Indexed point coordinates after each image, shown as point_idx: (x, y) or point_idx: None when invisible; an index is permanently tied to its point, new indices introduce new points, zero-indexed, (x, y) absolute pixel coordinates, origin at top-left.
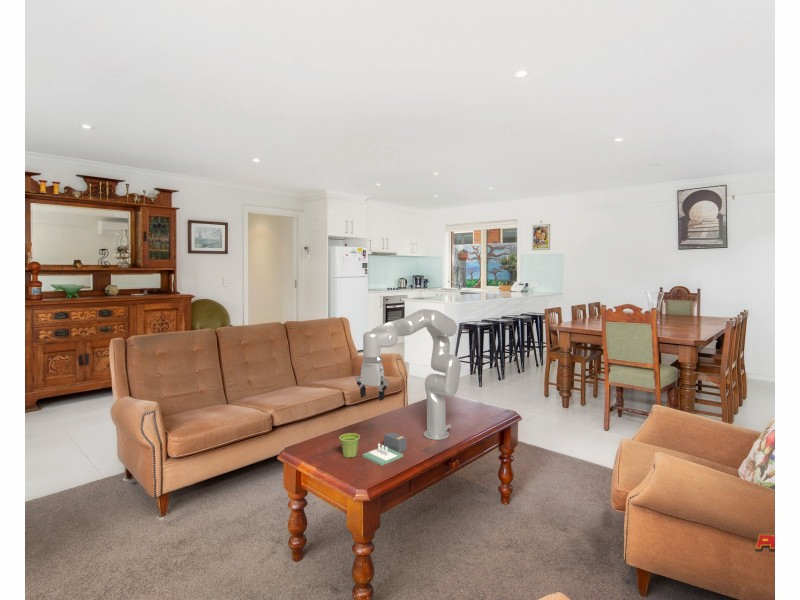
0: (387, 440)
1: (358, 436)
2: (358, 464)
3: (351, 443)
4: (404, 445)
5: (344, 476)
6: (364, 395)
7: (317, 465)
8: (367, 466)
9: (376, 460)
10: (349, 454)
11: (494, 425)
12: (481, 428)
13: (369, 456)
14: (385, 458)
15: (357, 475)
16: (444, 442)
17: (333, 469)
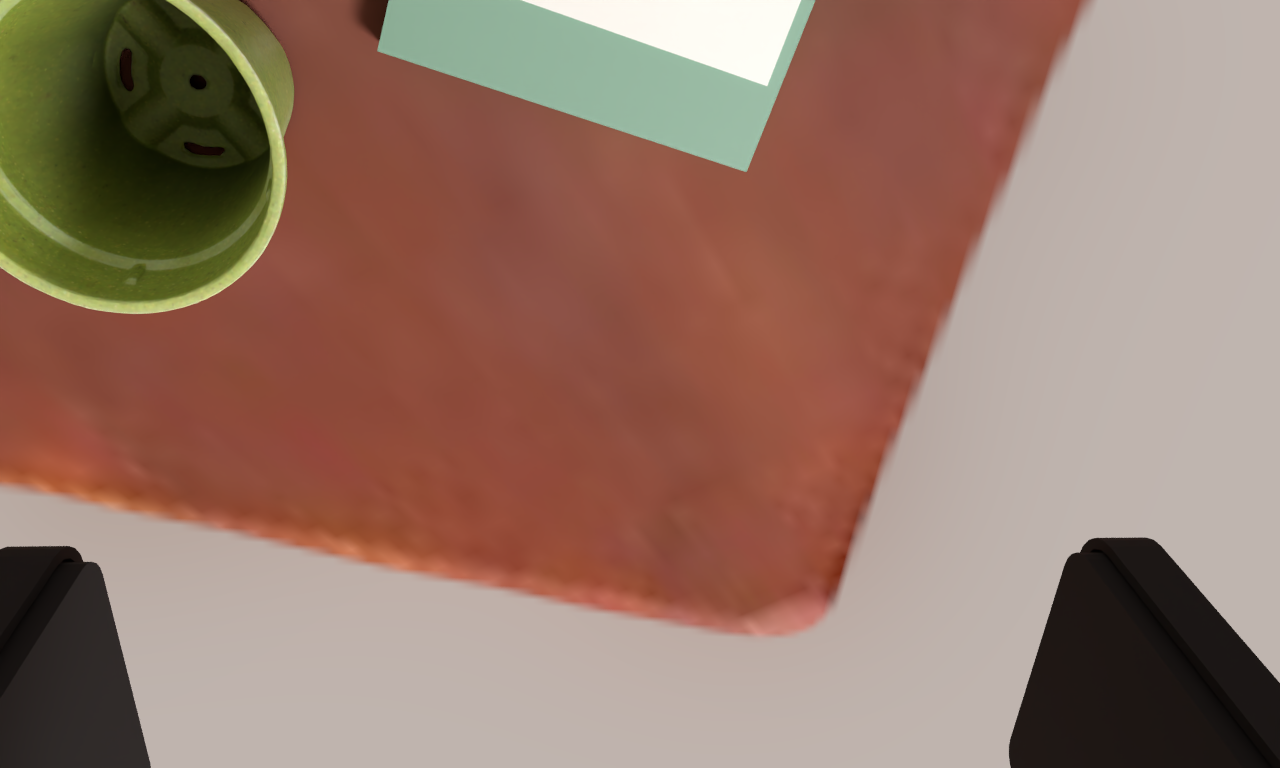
0: None
1: (183, 10)
2: (475, 253)
3: (248, 233)
4: None
5: (516, 519)
6: (103, 669)
7: (102, 467)
8: (598, 249)
9: (653, 138)
10: (251, 175)
11: None
12: None
13: (505, 73)
14: (737, 40)
15: (616, 453)
16: None
17: (319, 461)
